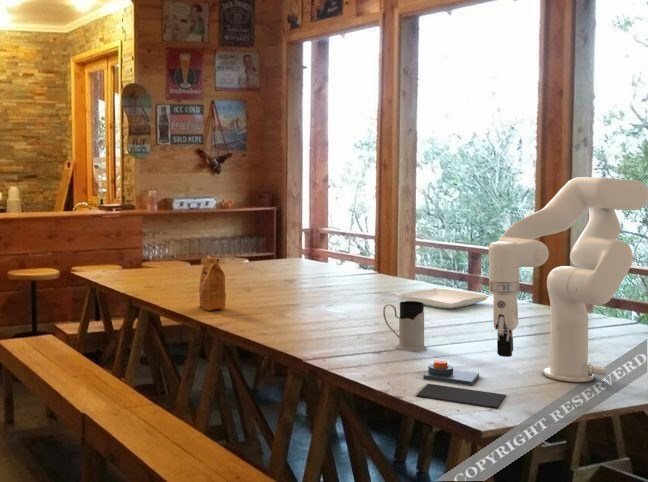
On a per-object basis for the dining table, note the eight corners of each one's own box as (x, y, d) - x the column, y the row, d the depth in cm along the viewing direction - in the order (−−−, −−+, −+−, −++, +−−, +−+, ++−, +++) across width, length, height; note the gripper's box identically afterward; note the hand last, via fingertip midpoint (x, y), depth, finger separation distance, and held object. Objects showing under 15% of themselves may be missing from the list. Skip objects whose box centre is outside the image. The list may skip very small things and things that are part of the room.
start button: (448, 367, 228) (448, 361, 228) (445, 370, 225) (445, 363, 225) (435, 365, 230) (435, 359, 230) (432, 368, 227) (432, 362, 227)
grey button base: (479, 377, 227) (479, 366, 227) (471, 386, 219) (471, 375, 218) (432, 370, 234) (432, 361, 234) (423, 379, 226) (423, 368, 226)
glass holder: (419, 352, 255) (419, 306, 255) (377, 346, 265) (377, 301, 264) (429, 347, 262) (429, 302, 261) (389, 341, 271) (389, 298, 271)
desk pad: (505, 396, 209) (505, 394, 209) (497, 408, 199) (497, 407, 199) (428, 385, 220) (428, 383, 220) (416, 396, 210) (416, 394, 210)
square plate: (490, 303, 333) (490, 294, 332) (451, 312, 317) (451, 302, 317) (435, 295, 355) (435, 286, 355) (395, 302, 340) (395, 293, 340)
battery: (513, 354, 217) (512, 332, 217) (511, 357, 214) (510, 335, 214) (499, 353, 219) (499, 331, 219) (497, 356, 216) (497, 334, 216)
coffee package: (218, 304, 342) (217, 254, 341) (228, 310, 330) (227, 258, 329) (196, 306, 339) (195, 255, 338) (205, 311, 327) (204, 259, 326)
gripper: (514, 293, 206) (515, 362, 208) (524, 282, 220) (525, 347, 221) (483, 291, 211) (484, 359, 212) (495, 281, 224) (496, 344, 226)
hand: (505, 352), depth 217 cm, fingers closed on battery, 3 cm apart
